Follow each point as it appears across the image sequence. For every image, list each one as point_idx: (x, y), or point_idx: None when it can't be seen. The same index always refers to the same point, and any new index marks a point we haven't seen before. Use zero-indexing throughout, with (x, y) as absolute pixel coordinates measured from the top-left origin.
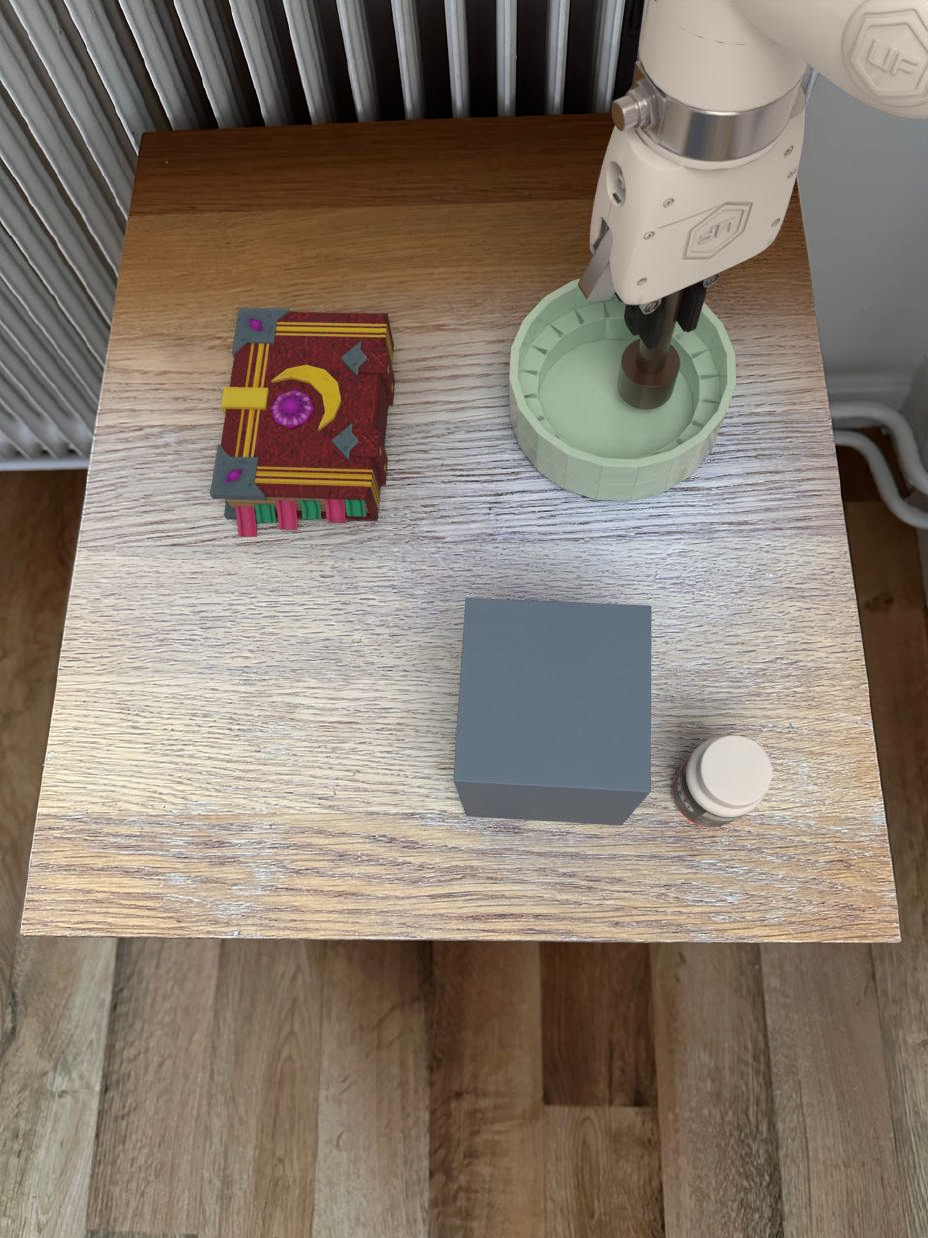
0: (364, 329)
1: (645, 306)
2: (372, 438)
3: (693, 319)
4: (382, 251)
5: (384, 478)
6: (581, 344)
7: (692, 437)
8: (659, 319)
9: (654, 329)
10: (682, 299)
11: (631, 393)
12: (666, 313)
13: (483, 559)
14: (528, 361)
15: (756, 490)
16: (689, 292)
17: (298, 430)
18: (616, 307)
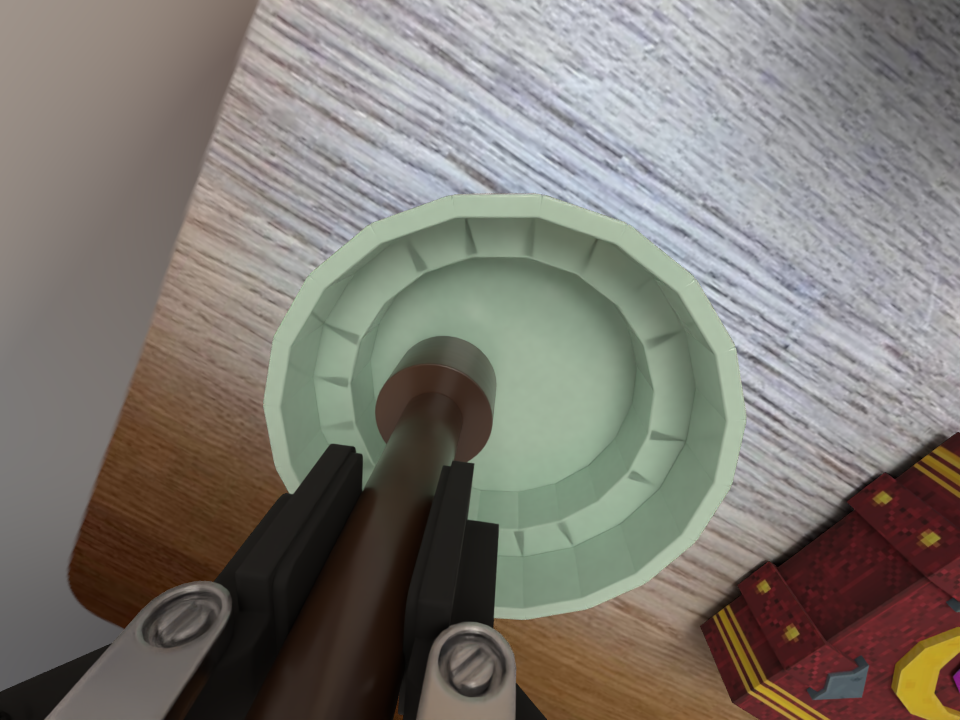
0: (782, 703)
1: (507, 693)
2: (951, 571)
3: (326, 479)
4: (609, 712)
5: (892, 483)
6: (480, 490)
7: (472, 216)
8: (446, 566)
9: (463, 529)
10: (325, 555)
11: (491, 384)
12: (396, 548)
13: (871, 274)
14: (596, 526)
15: (377, 101)
16: (295, 590)
17: None
18: None
